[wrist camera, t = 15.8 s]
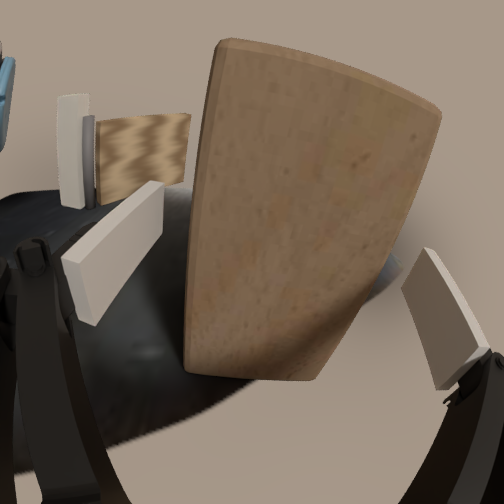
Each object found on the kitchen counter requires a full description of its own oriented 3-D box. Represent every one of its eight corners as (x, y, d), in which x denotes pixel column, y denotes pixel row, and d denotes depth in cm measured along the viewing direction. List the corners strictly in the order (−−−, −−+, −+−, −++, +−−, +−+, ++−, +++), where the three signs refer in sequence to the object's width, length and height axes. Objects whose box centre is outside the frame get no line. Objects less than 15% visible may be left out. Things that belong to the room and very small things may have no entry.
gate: (101, 205, 36) (100, 122, 29) (94, 199, 37) (92, 120, 30) (183, 181, 47) (191, 114, 41) (173, 177, 48) (180, 112, 42)
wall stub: (61, 205, 34) (57, 96, 25) (70, 198, 36) (69, 94, 27) (90, 211, 34) (89, 94, 25) (99, 204, 36) (100, 93, 27)
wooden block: (197, 284, 27) (229, 58, 16) (297, 297, 28) (364, 91, 17) (182, 374, 18) (216, 34, 7) (314, 383, 20) (448, 110, 9)
